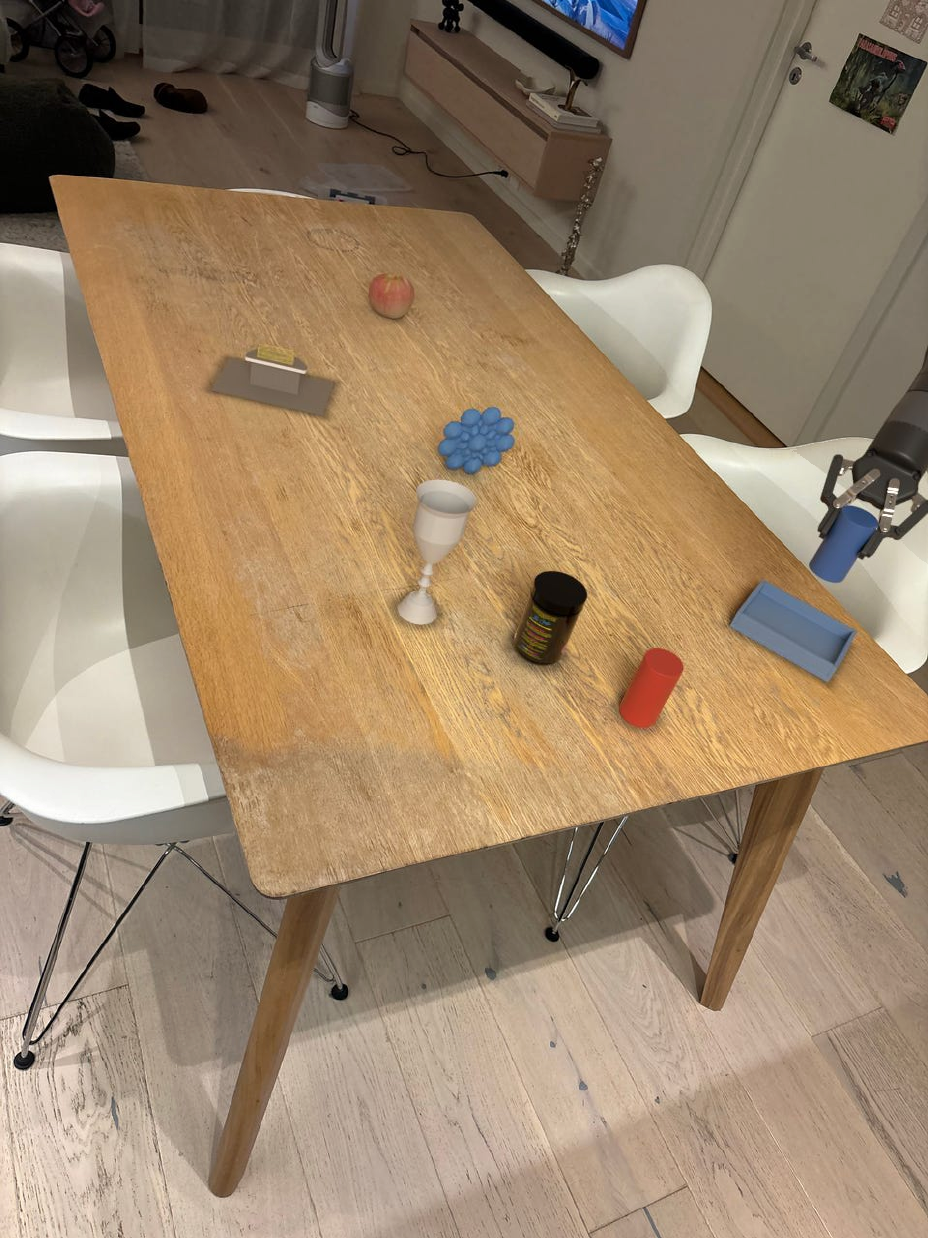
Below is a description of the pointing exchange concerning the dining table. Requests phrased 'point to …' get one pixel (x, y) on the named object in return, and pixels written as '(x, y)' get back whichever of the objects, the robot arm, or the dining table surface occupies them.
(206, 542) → the dining table surface
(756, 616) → the blue tray
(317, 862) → the dining table surface
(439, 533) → the chalice
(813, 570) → the blue pin
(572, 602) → the supplement container
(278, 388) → the platform
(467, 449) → the blue bubble cluster
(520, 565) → the dining table surface
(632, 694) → the red pin
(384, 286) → the apple
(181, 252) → the dining table surface
